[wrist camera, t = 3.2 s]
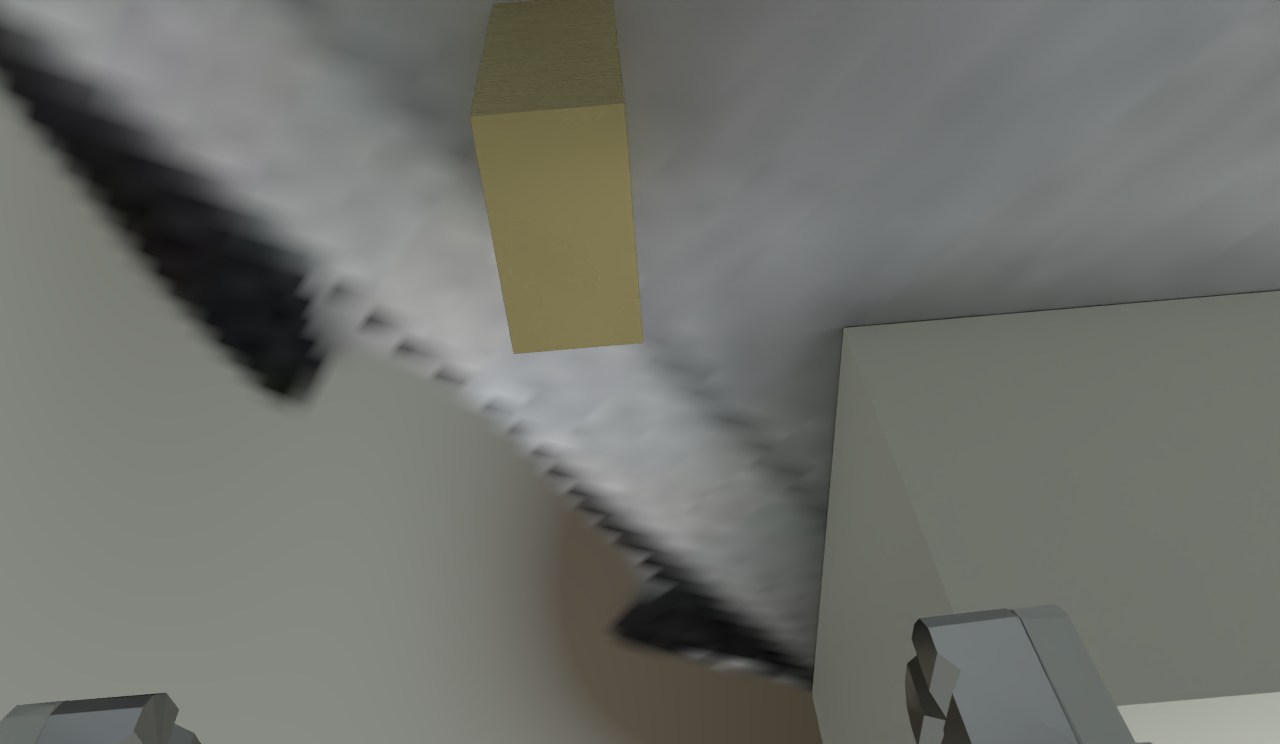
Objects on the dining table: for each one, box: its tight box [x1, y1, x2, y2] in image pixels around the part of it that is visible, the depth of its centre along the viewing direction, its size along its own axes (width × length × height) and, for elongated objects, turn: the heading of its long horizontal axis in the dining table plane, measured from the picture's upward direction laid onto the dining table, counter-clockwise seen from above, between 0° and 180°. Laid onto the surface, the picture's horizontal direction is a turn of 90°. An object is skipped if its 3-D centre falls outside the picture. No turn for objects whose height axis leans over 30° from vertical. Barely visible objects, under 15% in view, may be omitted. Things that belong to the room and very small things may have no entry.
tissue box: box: [812, 291, 1280, 744], centre depth 27 cm, size 18×14×12 cm
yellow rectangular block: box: [470, 0, 643, 354], centre depth 20 cm, size 5×3×6 cm, turn 4°
